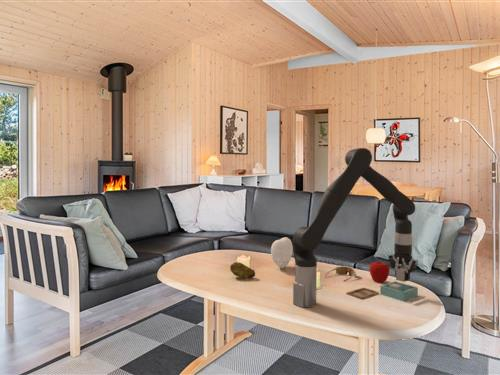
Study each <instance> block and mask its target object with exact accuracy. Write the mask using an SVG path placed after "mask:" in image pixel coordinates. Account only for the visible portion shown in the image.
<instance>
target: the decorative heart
mask: <svg viewBox="0 0 500 375" xmlns="http://www.w3.org/2000/svg"><path fill="white" fill-rule="evenodd" d="M270 254H271V259H272V261H273V262H274V263H275V265H276V266H277V270H278V271H279V270H280V269H283V268H285V267H287V266H288V264H289V263H290V261H291V258H292V256H293V242H292V241H291V239H290V238H289V237H286V236H285V237H282V238H280V239H276V240H274V242H272V244H271V248H270Z"/></svg>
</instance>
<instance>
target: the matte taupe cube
mask: <svg viewBox="0 0 500 375" xmlns="http://www.w3.org/2000/svg"><path fill="white" fill-rule="evenodd" d="M389 288H392V289H395V290H399V291H402V285H399V284H395V283H393V284H391V285H389Z"/></svg>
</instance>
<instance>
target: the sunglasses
mask: <svg viewBox="0 0 500 375" xmlns="http://www.w3.org/2000/svg"><path fill="white" fill-rule="evenodd" d="M334 271H335V274H336V275H344V276H345V275H348V276H349V277H347V278H345V279H344V280H343V282H347V281H348V280H351V279H352V278H356V277H357V273H356V270H355V269H354V268H353V267H350V266H347V265H341V266H336V267H335V268H333V269H330V270H329V271H328V272H326V273H325V276H324V279H326V277H327V275H328V274H329V273H330V272H334Z"/></svg>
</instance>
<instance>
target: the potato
mask: <svg viewBox="0 0 500 375" xmlns="http://www.w3.org/2000/svg"><path fill="white" fill-rule="evenodd" d="M229 269H230V271H231V273H232V274H233V275H234V276H236V277H237V278H239V279H241V278H243V279H242V280H249V279H253V278H254V277H255V276H256V272H255V270H254V269H252V268H251V267H249V266H247V265H245V264H243V263H241V262H239V261H235V262H233V263H232V264H230V268H229Z"/></svg>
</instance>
